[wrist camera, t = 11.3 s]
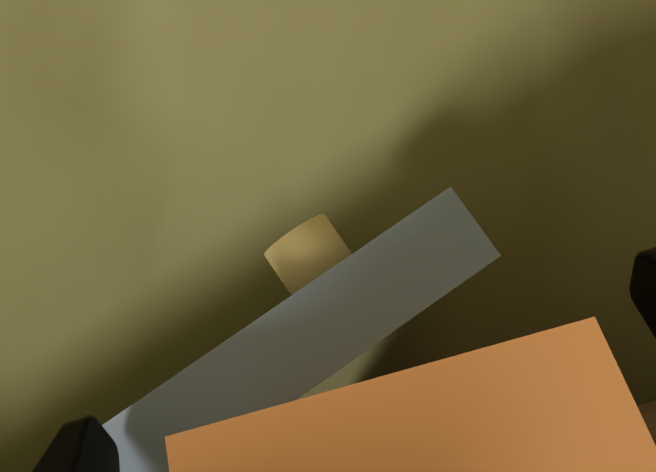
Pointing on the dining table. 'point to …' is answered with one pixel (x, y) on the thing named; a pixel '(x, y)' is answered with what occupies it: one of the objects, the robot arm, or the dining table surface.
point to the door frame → (649, 417)
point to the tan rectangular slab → (448, 418)
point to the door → (310, 322)
